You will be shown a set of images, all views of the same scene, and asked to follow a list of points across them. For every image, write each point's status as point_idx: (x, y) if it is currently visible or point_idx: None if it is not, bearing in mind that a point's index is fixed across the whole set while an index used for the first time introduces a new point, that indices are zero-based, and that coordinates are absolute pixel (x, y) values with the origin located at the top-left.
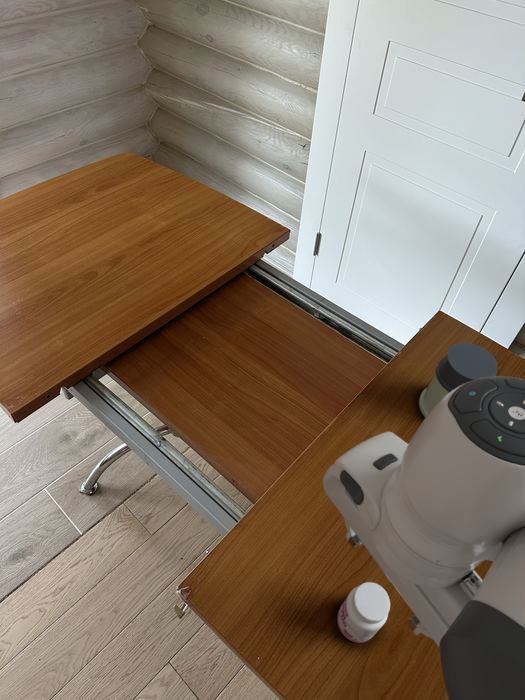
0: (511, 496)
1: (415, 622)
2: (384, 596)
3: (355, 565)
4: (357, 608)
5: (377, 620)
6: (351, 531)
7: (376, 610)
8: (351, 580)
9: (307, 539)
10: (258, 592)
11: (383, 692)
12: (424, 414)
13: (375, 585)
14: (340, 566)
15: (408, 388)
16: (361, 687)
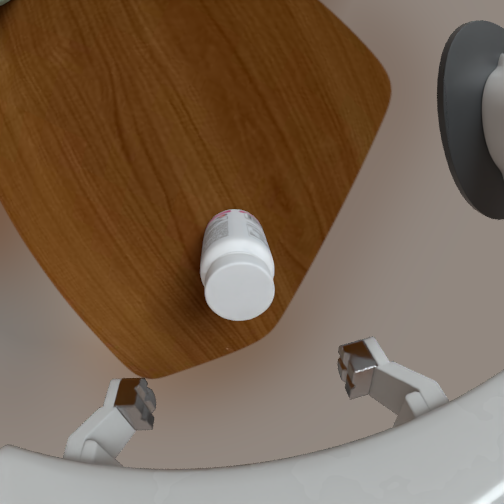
0: None
1: (363, 393)
2: (241, 270)
3: (158, 199)
4: (241, 319)
5: (272, 298)
6: (125, 441)
7: (257, 294)
8: (178, 215)
9: (106, 251)
10: (160, 329)
11: (321, 242)
12: (4, 2)
13: (216, 276)
14: (153, 222)
15: None
16: (304, 264)
